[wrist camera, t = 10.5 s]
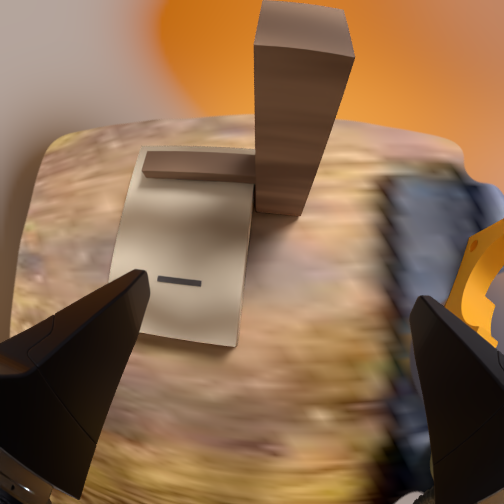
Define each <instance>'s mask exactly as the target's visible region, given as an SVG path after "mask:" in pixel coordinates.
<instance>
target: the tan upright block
mask: <svg viewBox="0 0 504 504" xmlns="http://www.w3.org/2000/svg"><path fill="white" fill-rule="evenodd" d="M354 59H355V55H354V50H353V46H352V41H351V37H350V33H349V29H348V25H347V21H346V17H345V14H344V10H341V9H336V8H330V7H324V6H318V5H310V4H303V3H293V2H283V1H268V0H263V1H262V7H261V11H260V16H259V21H258V26H257V31H256V36H255V41H254V87H255V88H254V89H255V90H254V95H255V155H251V154H236V153H219V152H194V151H147V153H146V157H145V160H144V163H143V167H142V170H141V171H142V172H143V174H144V175H145V177H146V178H160V179H185V180H205V181H221V182H235V183H248V184H256V212H263V213H274V214H284V215H294V216H301V214H302V211H303V208H304V206H305V203H306V200H307V198H308V195H309V192H310V189H311V186H312V184H313V181H314V178H315V175H316V173H317V170H318V167H319V164H320V161H321V158H322V156H323V153H324V150H325V147H326V144H327V141H328V138H329V135H330V132H331V130H332V127H333V124H334V121H335V118H336V115H337V112H338V109H339V106H340V103H341V100H342V97H343V94H344V90H345V88H346V84H347V81H348V78H349V75H350V72H351V69H352V66H353V62H354Z"/></svg>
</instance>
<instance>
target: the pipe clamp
mask: <svg viewBox="0 0 504 504" xmlns="http://www.w3.org/2000/svg"><path fill="white" fill-rule="evenodd" d="M503 266H504V219H502V220H500V221H498V222H496V223H495V224H493V225H491V226H489V227H487V228H486V229H484V230H482V231H480V232H478V233H476V234H475V235H473V236H471V237H469V240H468V244H467V247H466V250H465V253H464V256H463V259H462V262H461V265H460V268H459V271H458V274H457V277H456V280H455V282H454V285H453V288H452V290H451V293H450V295H449V298H448V299H447V300H446V302H445V305H444V307H445V308H446V309H448V310H449V311H450V312H452V313H453V314H454V315H455V316H457V317H458V318H459V319H461V320H462V321H463V322H464V323H466V324H467V325H468V326H469V327H471V328H472V329H473V330H474V331H476V332H477V333H478V334H479V335H480V336H482V337H483V338H484V339H485V340H486V341H488V342H489V343H490V344H491V345H492V346H494V347H495V348H496V346H497V344H498V342H497V341H496V340H495V339H494V338H493V337H492V336H491V319H492V315H493V311H494V308H495V305H494V304H493V303H492V302H491V301H490V300H489V299H488V298H486V297H485V294H486V292H487V290H488V288H489V286H490V284H491V282H492V281H493V279H494V278H495V276H496V275H497V273H498V272H499V271H500V269H501V268H502V267H503Z"/></svg>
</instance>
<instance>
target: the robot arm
mask: <svg viewBox="0 0 504 504" xmlns="http://www.w3.org/2000/svg"><path fill="white" fill-rule="evenodd" d="M149 299H150V285H149V279H148V274H147V272H146V271H145V270H140V269H133V270H132V271H130V272H128V273H126V274H124V275H122V276H121V277H119V278H117V279H115V280H113V281H112V282H110V283H108V284H106V285H104V286H103V287H101V288H99V289H97V290H95V291H94V292H92V293H90V294H88V295H87V296H85V297H83V298H81V299H80V300H78V301H76V302H74V303H73V304H71V305H69V306H67V307H66V308H64V309H62V310H60V311H59V312H57V313H55V315H52V316H50V317H49V318H47V319H45V320H43V321H42V322H40V323H38V324H36V325H35V326H33V327H31V328H29V329H27V330H25V331H23V332H21V333H19V334H17V335H15V336H13V337H11V338H9V339H7V340H5V341H4V342H2V343H0V504H52V503H51V501H50V499H49V498H50V495H51V492H52V489H53V487H54V488H55V489H57V490H59V491H61V492H63V493H65V494H67V495H69V496H71V497H74V498H76V499H78V500H80V497H81V494H82V491H83V487H84V484H85V480H86V477H87V474H88V471H89V467H90V464H91V461H92V458H93V455H94V452H95V449H96V444H97V442H98V439H99V436H100V433H101V431H102V428H103V425H104V422H105V419H106V416H107V414H108V411H109V408H110V405H111V403H112V400H113V397H114V395H115V392H116V389H117V387H118V384H119V382H120V379H121V377H122V374H123V372H124V369H125V367H126V364H127V362H128V359H129V357H130V354H131V352H132V349H133V347H134V345H135V342H136V340H137V337H138V335H139V331H140V328H141V325H142V321H143V318H144V315H145V311H146V308H147V305H148V302H149ZM409 320H410V327H411V333H412V340H413V347H414V355H415V360H416V365H417V369H418V374H419V379H420V384H421V389H422V394H423V399H424V405H425V410H426V417H427V423H428V430H429V437H430V445H431V453H432V463H433V476H434V491H435V504H504V355H503V354H502V353H501V352H500V351H497V349H496V348H495V347H494V346H492V345H491V344H490V343H489V342H488V341H486V340H485V339H484V338H483V337H482V336H480V335H479V334H478V333H477V332H476V331H474V330H473V329H472V328H471V327H469V326H468V325H467V324H466V323H464V322H463V321H462V320H461V319H459V318H458V317H457V316H455V315H454V314H453V313H452V312H450V311H449V310H448V309H446V308H445V307H444V306H443V305H441V304H440V303H439V302H437V301H436V300H435V299H433V298H432V297H431V296H424V295H421V296H419V297H418V298H417V300H416V302H415V304H414V307H413V309H412V311H411V313H410V318H409Z"/></svg>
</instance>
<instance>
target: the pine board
mask: <svg viewBox="0 0 504 504" xmlns="http://www.w3.org/2000/svg"><path fill="white" fill-rule="evenodd" d="M147 151H194V152H219V153H236V154H251V155H255V149H243V148H227V147H205V146H141V149H140V152H139V155H138V158H137V161H136V165H135V168H134V172H133V175H132V178H131V182H130V186H129V189H128V193H127V197H126V201H125V205H124V209H123V213H122V217H121V221H120V225H119V230H118V234H117V239H116V244H115V249H114V254H113V259H112V264H111V270H110V275H109V281H108V283H110V282H112V281H113V280H115V279H117V278H119V277H121V276H122V275H124V274H126V273H128V272H130V271H132V270H133V269H140V270H145V271H146V272H147V274H148V279H149V285H150V299H149V302H148V305H147V308H146V311H145V315H144V318H143V321H142V325H141V328H140V331H139V332H141V333H146V334H152V335H157V336H163V337H169V338H175V339H181V340H188V341H194V342H201V343H209V344H216V345H224V346H232V347H236V346H237V345H238V338H239V329H240V320H241V311H242V301H243V292H244V283H245V274H246V265H247V256H248V247H249V238H250V229H251V220H252V211H253V202H254V193H255V184H248V183H235V182H221V181H205V180H185V179H160V178H146V177H145V175H144V174H143V172H142V171H141V170H142V167H143V163H144V160H145V157H146V153H147Z"/></svg>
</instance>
